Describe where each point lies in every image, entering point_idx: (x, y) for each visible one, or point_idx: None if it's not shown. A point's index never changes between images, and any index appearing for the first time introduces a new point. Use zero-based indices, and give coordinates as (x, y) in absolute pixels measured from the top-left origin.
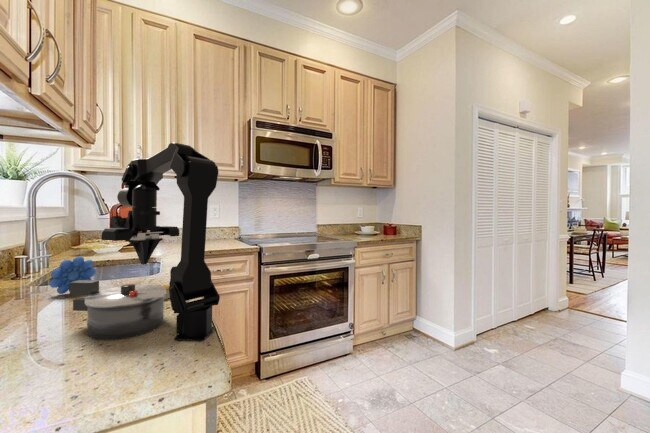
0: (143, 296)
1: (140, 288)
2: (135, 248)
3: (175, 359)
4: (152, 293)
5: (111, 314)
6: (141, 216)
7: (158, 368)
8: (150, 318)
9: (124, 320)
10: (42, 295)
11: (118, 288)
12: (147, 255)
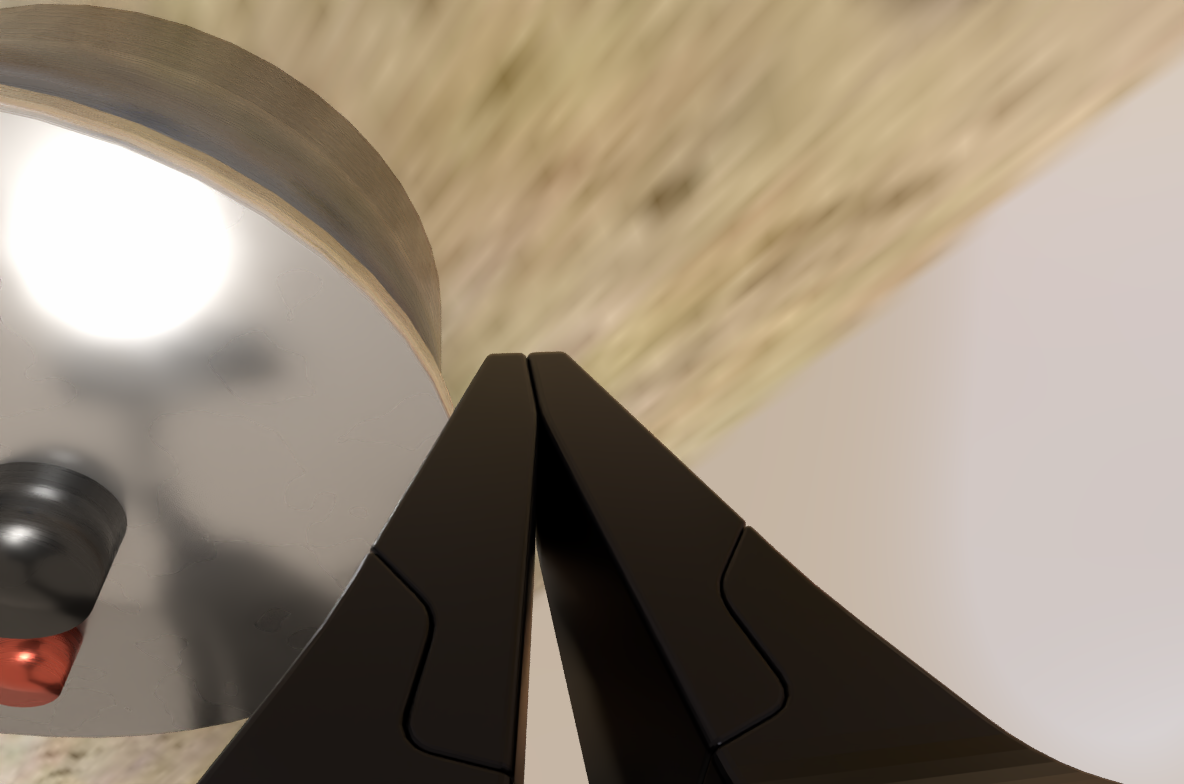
0: (114, 685)
1: (256, 452)
2: (274, 746)
3: (134, 759)
4: (226, 664)
5: None
6: None
7: (46, 767)
8: None
9: None
10: None
11: (32, 221)
12: (558, 640)
